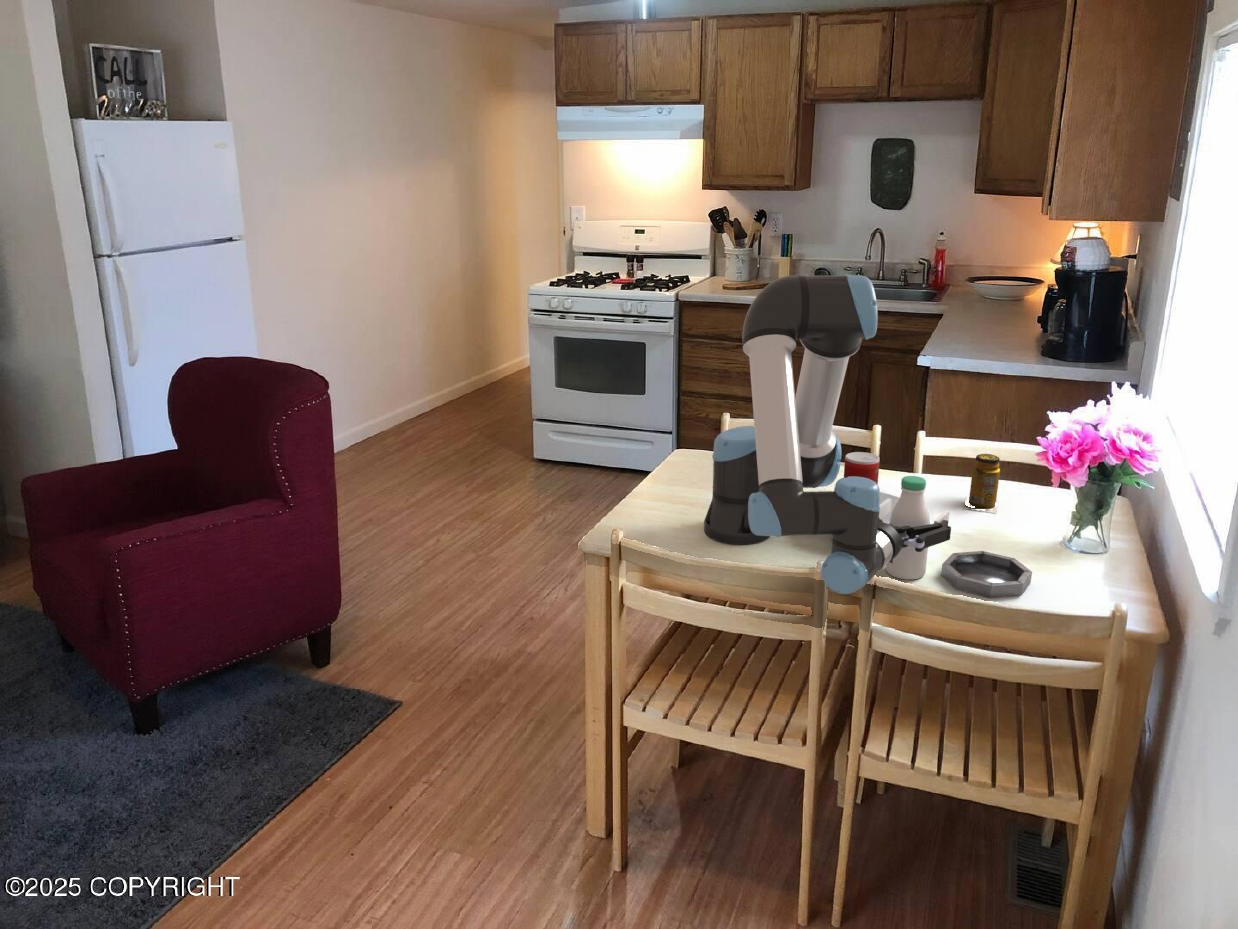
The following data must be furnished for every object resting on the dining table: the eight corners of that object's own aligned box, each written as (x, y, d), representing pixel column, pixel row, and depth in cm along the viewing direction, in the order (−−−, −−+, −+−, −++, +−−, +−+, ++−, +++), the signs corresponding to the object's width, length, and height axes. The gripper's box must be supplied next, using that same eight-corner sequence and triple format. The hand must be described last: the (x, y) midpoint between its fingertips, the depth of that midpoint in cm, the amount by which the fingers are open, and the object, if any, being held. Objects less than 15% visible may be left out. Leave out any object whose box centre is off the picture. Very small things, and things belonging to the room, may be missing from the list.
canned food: (879, 505, 227) (883, 461, 224) (845, 505, 227) (848, 461, 224) (872, 494, 235) (875, 451, 231) (839, 494, 235) (842, 451, 231)
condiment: (998, 501, 229) (1004, 454, 225) (996, 514, 222) (1002, 464, 218) (966, 497, 232) (971, 450, 228) (963, 509, 224) (968, 461, 221)
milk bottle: (931, 571, 193) (941, 478, 186) (914, 584, 187) (923, 488, 181) (896, 561, 198) (904, 469, 191) (878, 573, 192) (886, 479, 186)
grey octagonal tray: (933, 583, 188) (934, 571, 187) (958, 556, 199) (960, 545, 198) (1014, 604, 179) (1016, 592, 178) (1036, 575, 190) (1038, 563, 190)
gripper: (814, 550, 183) (860, 515, 199) (936, 582, 169) (975, 541, 186) (816, 514, 180) (863, 481, 197) (940, 543, 167) (979, 505, 184)
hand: (917, 510), depth 192 cm, fingers open, 11 cm apart
